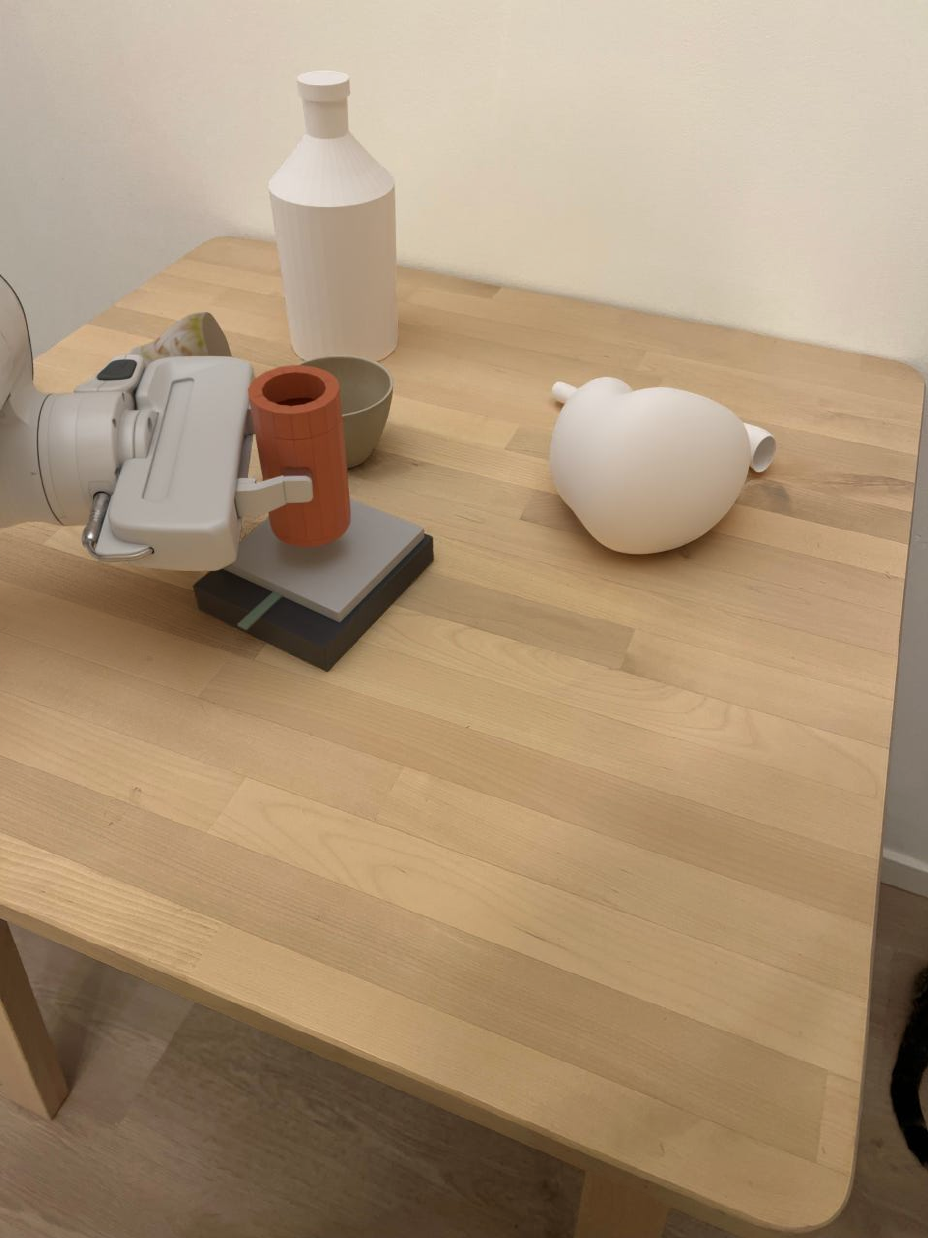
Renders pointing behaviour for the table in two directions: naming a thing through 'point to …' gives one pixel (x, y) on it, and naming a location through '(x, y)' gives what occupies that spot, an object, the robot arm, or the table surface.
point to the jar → (303, 449)
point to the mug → (187, 340)
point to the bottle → (335, 232)
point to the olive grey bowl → (359, 400)
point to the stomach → (650, 462)
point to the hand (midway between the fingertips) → (314, 451)
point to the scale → (317, 584)
